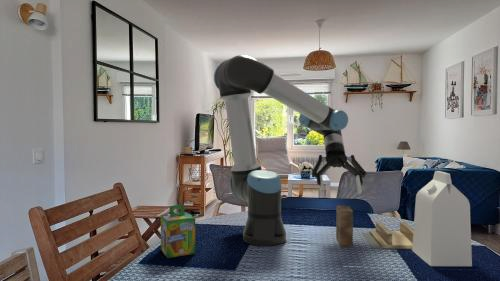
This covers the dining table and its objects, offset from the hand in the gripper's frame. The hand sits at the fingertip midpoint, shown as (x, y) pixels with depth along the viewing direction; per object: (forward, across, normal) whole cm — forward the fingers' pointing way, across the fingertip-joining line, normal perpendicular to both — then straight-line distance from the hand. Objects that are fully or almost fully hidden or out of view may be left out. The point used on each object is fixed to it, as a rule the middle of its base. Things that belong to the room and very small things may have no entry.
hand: (341, 191), depth 130 cm
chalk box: (+26, +55, +4) cm, 61 cm away
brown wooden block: (+19, +1, -3) cm, 19 cm away
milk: (+28, -25, +6) cm, 38 cm away
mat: (+17, -17, -5) cm, 24 cm away
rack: (+17, -17, -5) cm, 24 cm away
